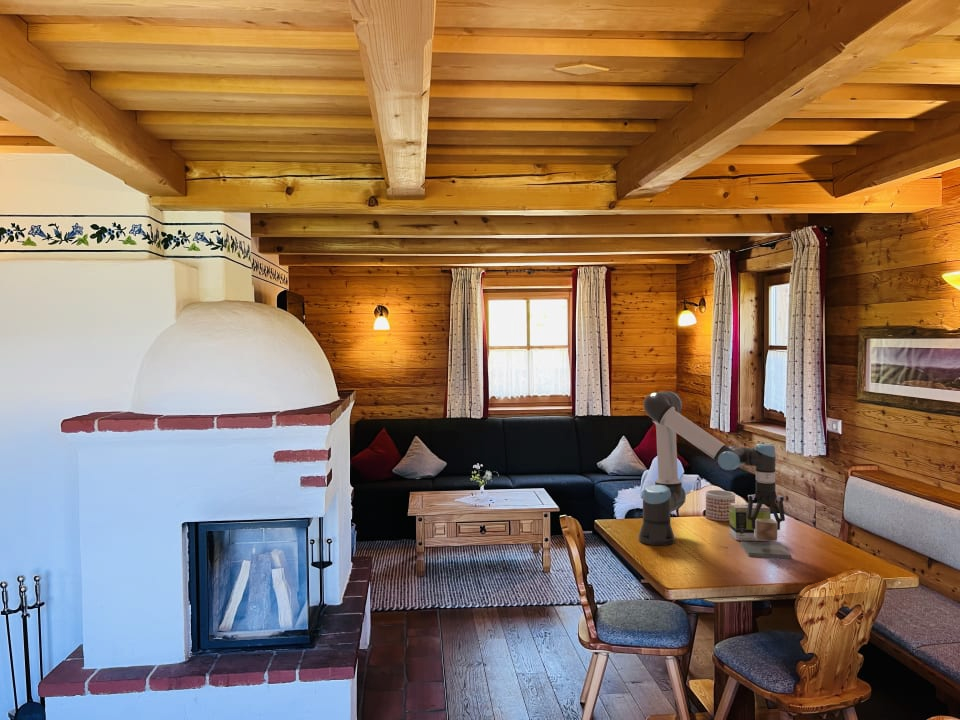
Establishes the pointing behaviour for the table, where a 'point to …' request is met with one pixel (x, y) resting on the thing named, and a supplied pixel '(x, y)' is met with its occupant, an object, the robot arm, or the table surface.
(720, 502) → the planter
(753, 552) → the slate board
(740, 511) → the tea box
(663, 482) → the robot arm
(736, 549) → the table surface
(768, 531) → the walnut cube
